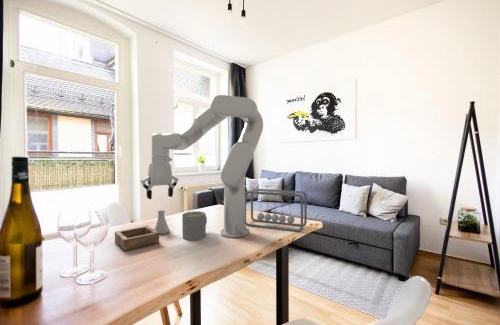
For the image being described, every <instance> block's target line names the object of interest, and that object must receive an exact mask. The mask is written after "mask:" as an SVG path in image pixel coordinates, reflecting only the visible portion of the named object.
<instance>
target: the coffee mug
mask: <svg viewBox="0 0 500 325" xmlns="http://www.w3.org/2000/svg"><path fill="white" fill-rule="evenodd" d="M181 215H182V221H181V223H182V239H183V240H186V241H199V240H202V239H205V238H206V236H207V235H206V234H207V230H206V229H207V226H206V225H207V223H208V222H207V221H208V220H207V219H208V217H207V215H206V212H204V211H199V210H198V211H197V210H195V211H193V210H192V211H187V212H184V213H182V214H181Z"/></svg>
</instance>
